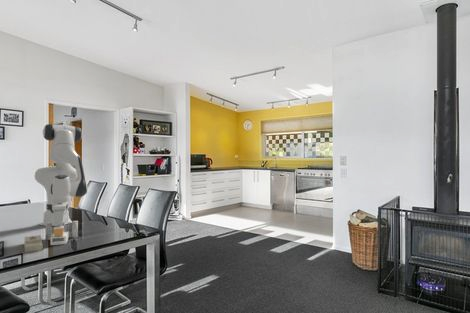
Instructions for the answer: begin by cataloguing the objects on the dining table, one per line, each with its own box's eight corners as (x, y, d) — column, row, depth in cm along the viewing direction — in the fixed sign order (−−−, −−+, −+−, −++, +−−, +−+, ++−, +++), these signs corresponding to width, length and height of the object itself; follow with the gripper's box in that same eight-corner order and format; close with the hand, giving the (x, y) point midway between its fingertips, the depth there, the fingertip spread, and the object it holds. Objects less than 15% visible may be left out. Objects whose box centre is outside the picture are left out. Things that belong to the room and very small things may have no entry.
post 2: (72, 236, 175) (72, 221, 175) (78, 236, 176) (78, 220, 176) (71, 237, 172) (71, 222, 173) (77, 237, 174) (77, 221, 174)
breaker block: (54, 239, 169) (54, 232, 169) (68, 238, 171) (68, 231, 171) (50, 245, 158) (50, 237, 158) (65, 244, 160) (65, 236, 160)
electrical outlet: (25, 244, 146) (24, 236, 160) (24, 253, 146) (24, 244, 160) (42, 242, 150) (40, 234, 164) (42, 250, 150) (40, 242, 164)
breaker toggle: (54, 235, 161) (54, 226, 161) (63, 234, 163) (63, 226, 163) (54, 236, 159) (54, 227, 159) (62, 235, 161) (62, 227, 161)
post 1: (46, 238, 170) (46, 222, 170) (52, 238, 171) (52, 222, 171) (45, 240, 167) (45, 223, 168) (51, 239, 169) (51, 223, 169)
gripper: (57, 202, 176) (57, 226, 176) (51, 207, 157) (51, 234, 157) (70, 201, 179) (69, 225, 179) (65, 206, 160) (65, 233, 160)
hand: (61, 229), depth 168 cm, fingers open, 8 cm apart
